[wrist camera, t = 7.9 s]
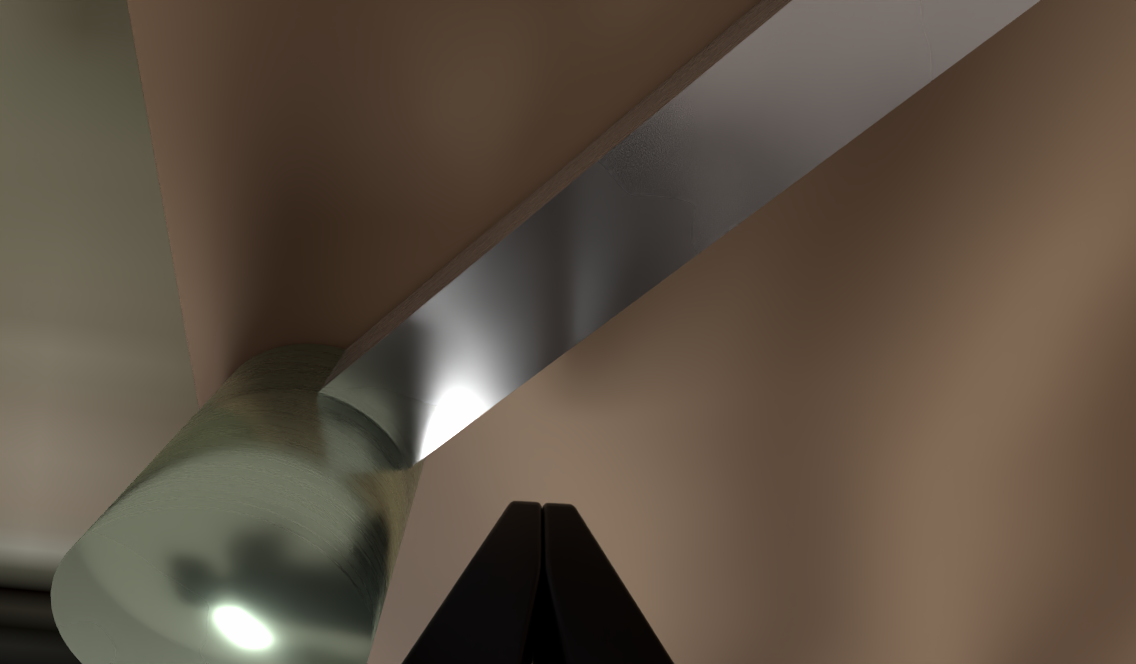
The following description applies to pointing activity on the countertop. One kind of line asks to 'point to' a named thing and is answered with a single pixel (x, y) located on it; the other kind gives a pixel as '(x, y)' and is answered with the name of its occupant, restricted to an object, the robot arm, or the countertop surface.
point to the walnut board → (709, 316)
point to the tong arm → (472, 346)
